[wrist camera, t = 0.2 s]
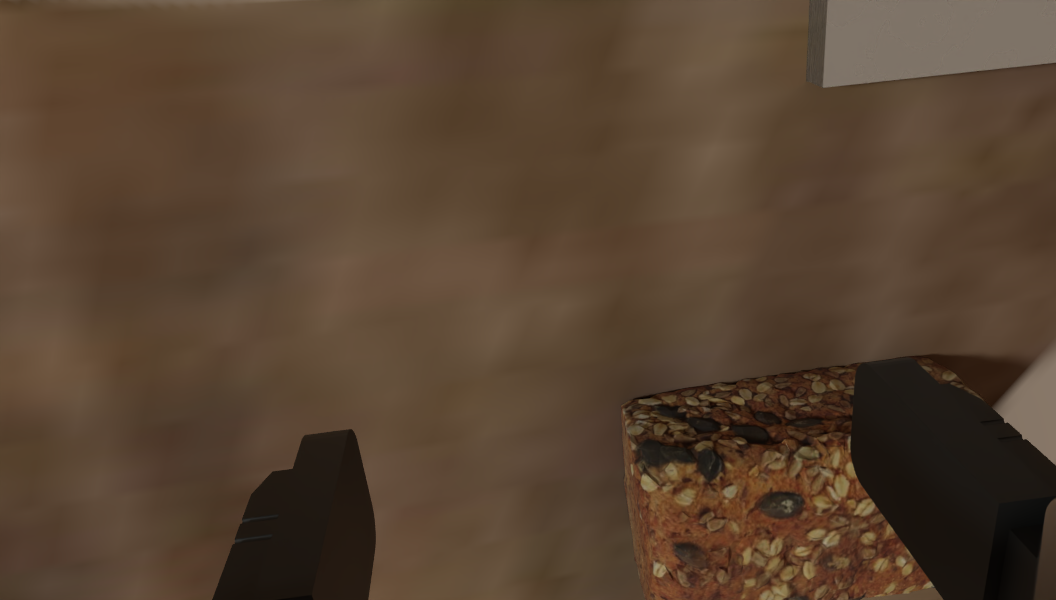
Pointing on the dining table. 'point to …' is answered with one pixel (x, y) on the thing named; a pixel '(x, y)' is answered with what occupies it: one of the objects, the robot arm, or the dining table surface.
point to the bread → (759, 493)
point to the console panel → (925, 38)
